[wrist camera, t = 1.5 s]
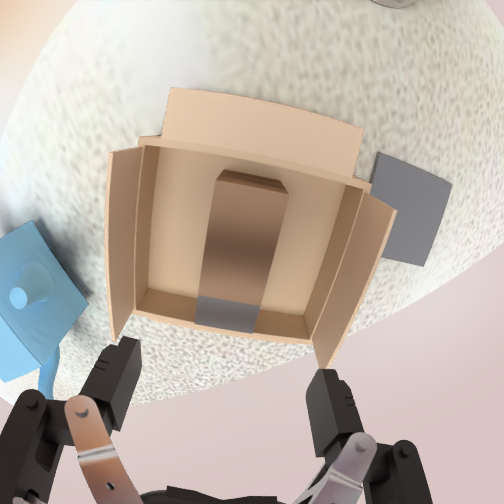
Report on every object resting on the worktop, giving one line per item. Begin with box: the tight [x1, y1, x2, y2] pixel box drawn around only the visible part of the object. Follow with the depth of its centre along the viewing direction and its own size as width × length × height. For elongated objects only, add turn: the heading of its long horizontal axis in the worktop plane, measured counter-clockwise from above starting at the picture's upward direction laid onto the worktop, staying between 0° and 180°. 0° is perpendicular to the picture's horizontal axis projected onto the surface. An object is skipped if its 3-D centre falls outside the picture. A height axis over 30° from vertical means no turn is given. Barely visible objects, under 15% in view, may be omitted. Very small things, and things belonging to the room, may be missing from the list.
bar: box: [194, 169, 289, 334], centre depth 23 cm, size 12×5×6 cm, turn 168°
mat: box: [369, 153, 452, 267], centre depth 25 cm, size 10×10×1 cm
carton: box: [104, 87, 397, 369], centre depth 21 cm, size 20×18×10 cm
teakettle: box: [0, 220, 89, 400], centre depth 22 cm, size 19×19×15 cm
